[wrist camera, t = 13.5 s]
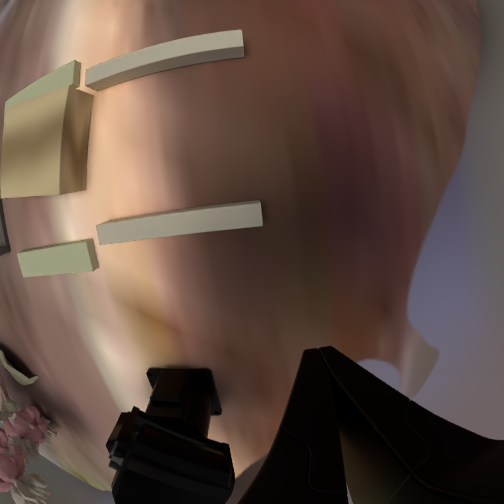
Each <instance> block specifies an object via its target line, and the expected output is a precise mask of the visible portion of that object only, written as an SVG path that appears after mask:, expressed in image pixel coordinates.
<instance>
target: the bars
mask: <svg viewBox="0 0 504 504" xmlns="http://www.w3.org/2000/svg"><path fill="white" fill-rule="evenodd" d="M79 77H80V63H79V62H78V61H76V60H74V61H72V62H70V63H68V64H66V65H64V66H62V67H60V68H58V69H56V70H54V71H53V72H51V73H49V74H47V75H46V76H44V77H42V78H40V79H39V80H37V81H36V82H34V83H32V84H31V85H29V86H28V87H26V88H25V89H23V90H22V91H20V92H19V93H17V94H16V95H14V96H13V97H11V98H10V99H9V100H7V101H6V103H5V116H6V109H7V108H8V107H10V106H13V105H15V104H18V103H20V102H23V101H25V100H28V99H30V98H33V97H36V96H39V95H42V94H45V93H48V92H51V91H54V90H57V89H60V88H64V87H67V86H70V87H73V88H77V87H79ZM5 116H4V123H5ZM17 255H18V259H19V263H20V267H21V271H22V274H23V277H33V276H44V275H56V274H67V273H78V272H89V271H94V270H95V269H97V268H98V262H97V258H96V254H95V250H94V245H93V240H92V239H87V240H81V241H75V242H69V243H63V244H57V245H52V246H46V247H41V248H35V249H30V250H24V251H21V252H19V253H17Z"/></svg>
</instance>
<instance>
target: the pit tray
mask: <svg viewBox="0 0 504 504" xmlns="http://www.w3.org/2000/svg"><path fill="white" fill-rule="evenodd" d="M9 251H10V246H9V242H8V237H7V232H6V227H5V221H4V215H3V208H2V201H1V192H0V255H3V254H5V253H7V252H9Z"/></svg>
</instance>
